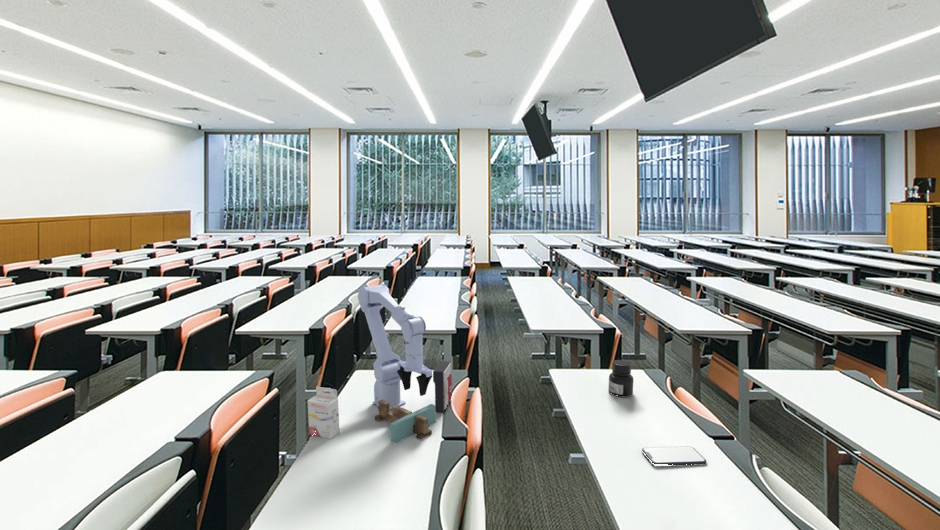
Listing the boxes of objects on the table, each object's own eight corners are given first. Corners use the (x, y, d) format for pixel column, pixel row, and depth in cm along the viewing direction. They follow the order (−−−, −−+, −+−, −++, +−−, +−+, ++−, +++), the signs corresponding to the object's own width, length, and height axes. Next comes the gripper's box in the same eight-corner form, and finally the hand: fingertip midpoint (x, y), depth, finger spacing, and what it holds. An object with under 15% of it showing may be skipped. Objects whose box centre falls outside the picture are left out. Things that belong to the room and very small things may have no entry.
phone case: (691, 450, 148) (640, 452, 147) (692, 445, 148) (640, 447, 146) (708, 467, 139) (653, 468, 138) (708, 461, 139) (654, 463, 138)
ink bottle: (603, 389, 192) (604, 359, 190) (624, 386, 194) (625, 357, 192) (616, 399, 183) (618, 368, 181) (637, 396, 185) (639, 366, 183)
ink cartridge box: (308, 435, 157) (305, 391, 155) (317, 428, 162) (315, 385, 159) (331, 439, 154) (328, 395, 152) (340, 432, 159) (338, 388, 157)
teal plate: (395, 443, 151) (394, 425, 150) (390, 441, 153) (390, 423, 152) (435, 422, 165) (435, 405, 164) (431, 420, 166) (431, 403, 165)
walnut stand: (374, 419, 167) (374, 402, 166) (386, 414, 171) (385, 398, 170) (420, 440, 153) (420, 421, 153) (431, 433, 157) (431, 416, 156)
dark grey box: (445, 413, 172) (444, 372, 170) (433, 412, 173) (432, 371, 170) (452, 400, 182) (452, 361, 180) (441, 399, 183) (440, 360, 181)
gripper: (390, 352, 166) (391, 390, 168) (421, 361, 157) (421, 401, 159) (405, 346, 172) (406, 383, 174) (436, 355, 163) (436, 394, 165)
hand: (415, 391), depth 167 cm, fingers open, 7 cm apart
